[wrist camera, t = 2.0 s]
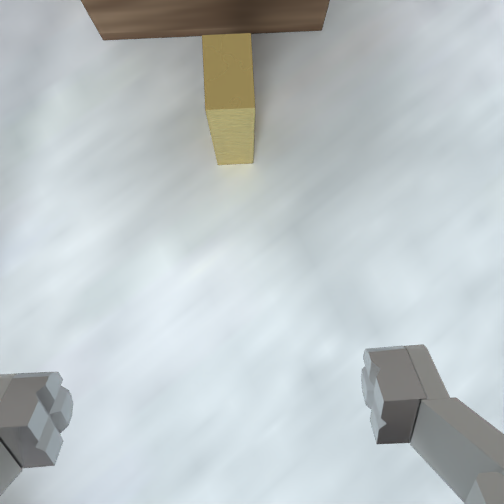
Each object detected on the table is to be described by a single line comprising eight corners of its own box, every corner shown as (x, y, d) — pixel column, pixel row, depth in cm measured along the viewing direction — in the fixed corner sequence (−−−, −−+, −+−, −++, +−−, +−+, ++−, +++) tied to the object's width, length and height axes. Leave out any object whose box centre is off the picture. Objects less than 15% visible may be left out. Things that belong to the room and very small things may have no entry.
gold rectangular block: (253, 163, 31) (254, 107, 22) (217, 164, 31) (205, 110, 22) (250, 109, 31) (250, 33, 22) (215, 111, 31) (202, 35, 22)
